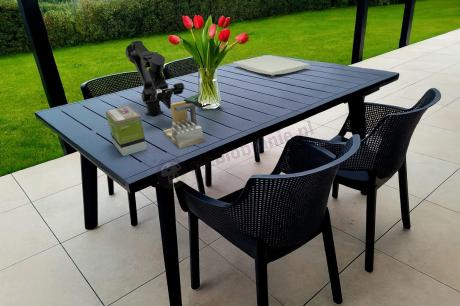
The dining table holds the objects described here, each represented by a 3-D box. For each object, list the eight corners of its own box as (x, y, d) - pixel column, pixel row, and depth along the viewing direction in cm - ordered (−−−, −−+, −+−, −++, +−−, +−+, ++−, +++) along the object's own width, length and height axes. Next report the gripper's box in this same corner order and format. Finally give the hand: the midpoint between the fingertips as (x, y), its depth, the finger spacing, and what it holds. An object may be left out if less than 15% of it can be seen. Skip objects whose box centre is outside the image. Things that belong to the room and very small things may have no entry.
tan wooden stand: (163, 133, 154) (158, 102, 147) (186, 127, 158) (182, 96, 152) (179, 148, 139) (175, 114, 133) (205, 141, 144) (201, 107, 137)
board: (233, 68, 258) (233, 61, 256) (268, 61, 273) (268, 55, 271) (271, 79, 223) (271, 72, 221) (309, 71, 238) (310, 64, 235)
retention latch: (173, 133, 149) (169, 103, 143) (186, 129, 151) (183, 100, 146) (178, 137, 144) (174, 106, 139) (192, 133, 147) (188, 103, 141)
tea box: (112, 144, 147) (104, 110, 141) (135, 137, 152) (129, 104, 145) (122, 157, 135) (114, 120, 129) (147, 149, 140) (141, 114, 133)
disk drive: (216, 103, 189) (197, 98, 198) (216, 98, 187) (197, 93, 197) (202, 109, 182) (183, 103, 191) (201, 103, 181) (182, 98, 190)
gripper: (174, 84, 169) (185, 112, 165) (135, 91, 161) (147, 121, 157) (178, 70, 159) (190, 100, 155) (137, 78, 151) (149, 109, 148)
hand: (169, 108), depth 154 cm, fingers closed
